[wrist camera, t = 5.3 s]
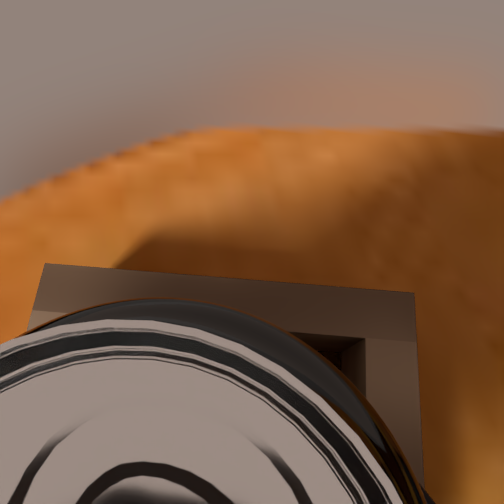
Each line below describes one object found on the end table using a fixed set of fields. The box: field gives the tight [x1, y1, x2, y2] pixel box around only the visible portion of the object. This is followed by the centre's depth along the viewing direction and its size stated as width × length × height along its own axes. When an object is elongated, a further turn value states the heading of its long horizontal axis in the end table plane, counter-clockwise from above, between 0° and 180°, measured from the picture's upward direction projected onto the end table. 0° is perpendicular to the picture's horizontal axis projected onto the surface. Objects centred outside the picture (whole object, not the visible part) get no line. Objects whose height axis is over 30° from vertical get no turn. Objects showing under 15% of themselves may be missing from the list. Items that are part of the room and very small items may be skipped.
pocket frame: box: [27, 263, 425, 489], centre depth 13 cm, size 12×12×4 cm
